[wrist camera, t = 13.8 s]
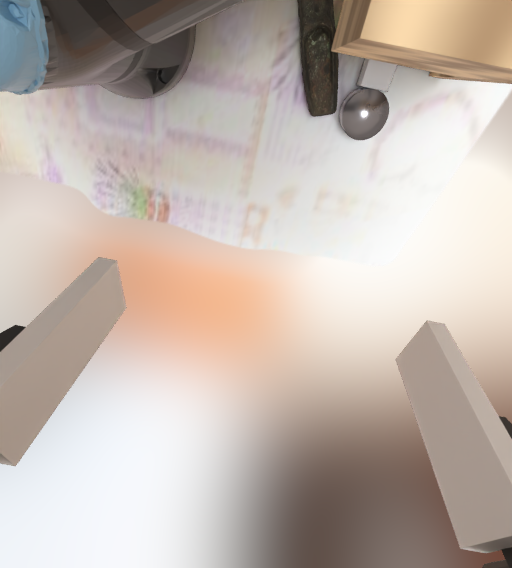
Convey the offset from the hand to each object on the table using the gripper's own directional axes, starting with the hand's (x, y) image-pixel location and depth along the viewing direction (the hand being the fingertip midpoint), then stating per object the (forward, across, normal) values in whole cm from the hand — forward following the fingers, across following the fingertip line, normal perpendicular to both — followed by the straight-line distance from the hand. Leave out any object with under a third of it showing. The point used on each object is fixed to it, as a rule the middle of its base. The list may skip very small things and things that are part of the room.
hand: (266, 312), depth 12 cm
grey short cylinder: (+32, +8, +5) cm, 33 cm away
